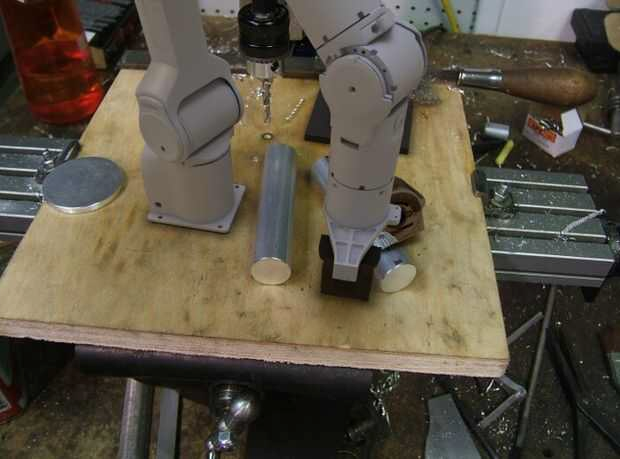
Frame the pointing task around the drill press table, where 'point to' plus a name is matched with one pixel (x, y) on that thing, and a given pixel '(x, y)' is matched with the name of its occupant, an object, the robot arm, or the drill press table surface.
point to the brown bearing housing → (406, 210)
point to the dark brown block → (360, 294)
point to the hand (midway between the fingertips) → (348, 272)
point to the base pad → (322, 130)
